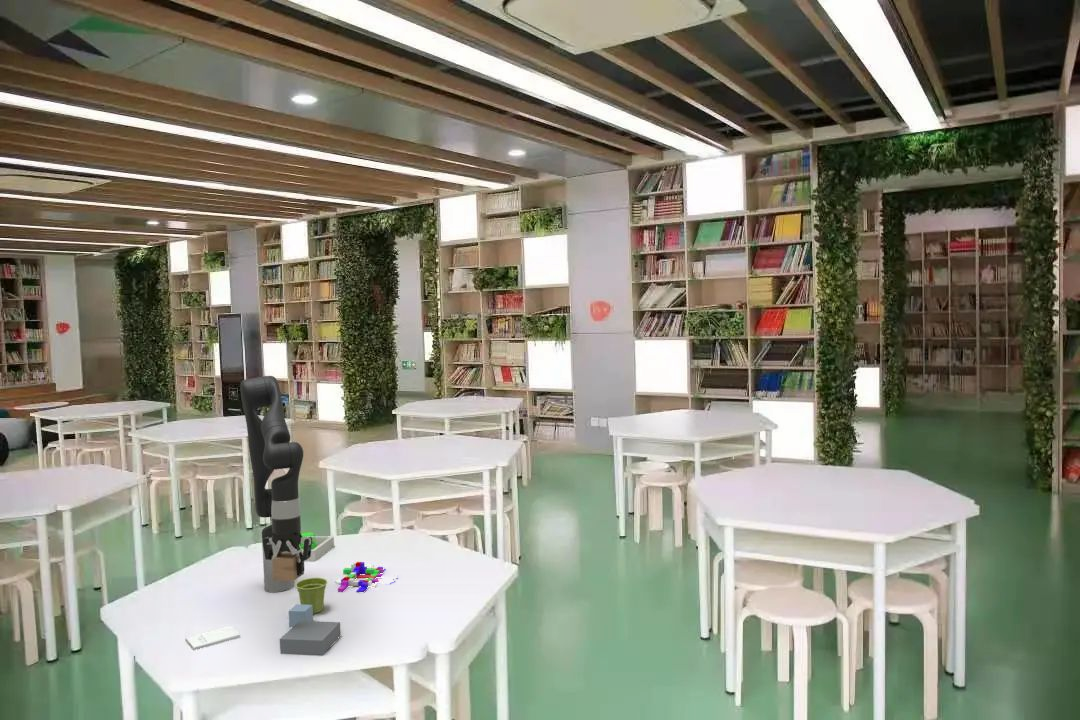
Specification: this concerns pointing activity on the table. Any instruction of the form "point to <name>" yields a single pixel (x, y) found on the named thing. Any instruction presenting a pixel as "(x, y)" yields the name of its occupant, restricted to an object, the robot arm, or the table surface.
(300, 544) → the toy car
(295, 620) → the blue cube
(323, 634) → the base plinth
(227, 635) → the external hard drive
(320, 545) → the corral
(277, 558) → the walnut cube
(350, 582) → the building block set
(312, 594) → the plant pot
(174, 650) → the table surface
